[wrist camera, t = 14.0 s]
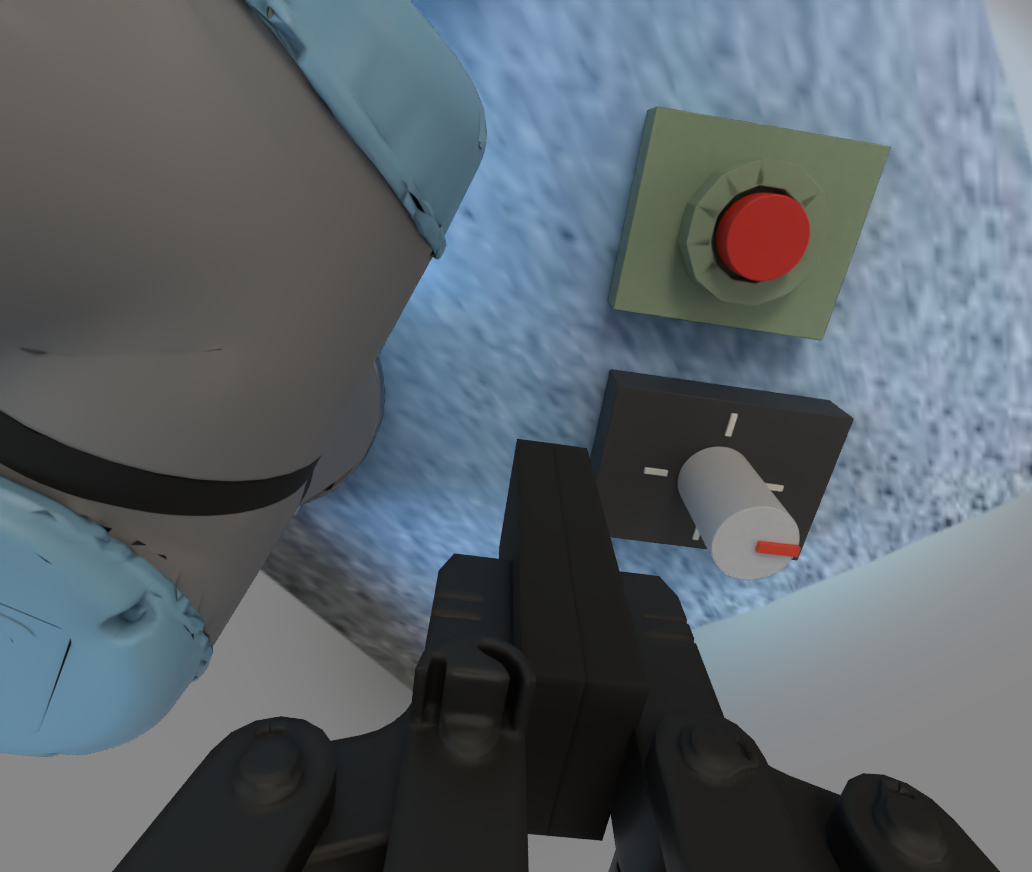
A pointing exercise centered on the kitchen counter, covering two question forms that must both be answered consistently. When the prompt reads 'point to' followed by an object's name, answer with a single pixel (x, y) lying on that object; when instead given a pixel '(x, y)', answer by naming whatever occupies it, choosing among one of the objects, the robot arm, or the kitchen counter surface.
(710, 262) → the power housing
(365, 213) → the robot arm
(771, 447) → the panel
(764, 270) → the power button
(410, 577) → the kitchen counter surface
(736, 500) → the timer dial
